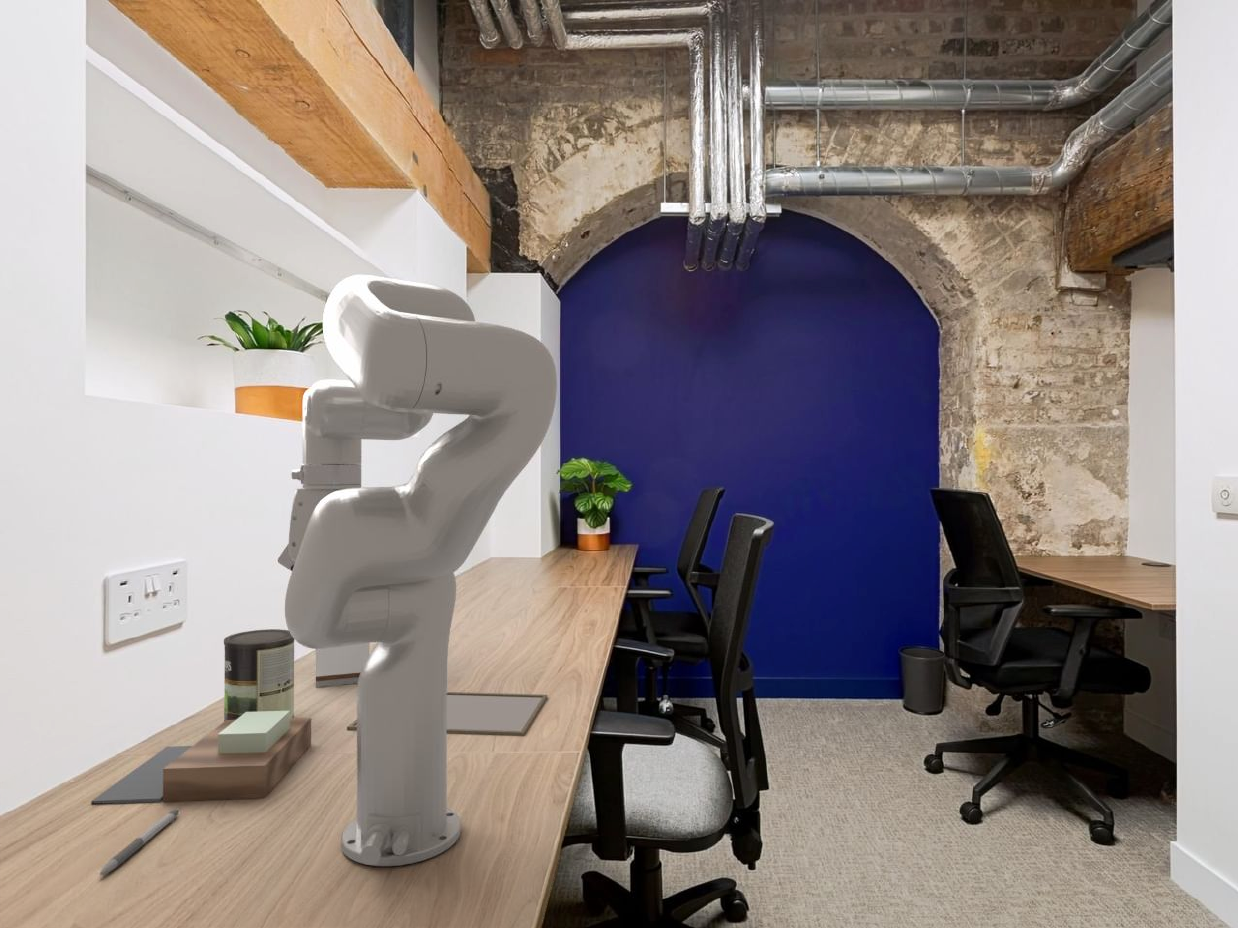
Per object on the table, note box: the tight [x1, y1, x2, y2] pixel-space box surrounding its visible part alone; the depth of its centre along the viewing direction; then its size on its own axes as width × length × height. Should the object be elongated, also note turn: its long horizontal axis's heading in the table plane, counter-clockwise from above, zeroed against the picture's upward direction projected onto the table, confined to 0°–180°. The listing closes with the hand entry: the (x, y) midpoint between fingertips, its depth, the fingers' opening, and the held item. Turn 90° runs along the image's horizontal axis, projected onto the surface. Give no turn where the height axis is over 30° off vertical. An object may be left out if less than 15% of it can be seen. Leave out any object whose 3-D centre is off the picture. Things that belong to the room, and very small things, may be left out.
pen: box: [99, 808, 180, 876], centre depth 82 cm, size 1×14×1 cm, turn 2°
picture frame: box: [346, 691, 548, 737], centre depth 126 cm, size 19×1×28 cm
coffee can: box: [223, 628, 295, 722], centre depth 120 cm, size 10×10×14 cm
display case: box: [315, 643, 370, 688], centre depth 148 cm, size 11×11×35 cm
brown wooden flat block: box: [162, 717, 312, 803], centre depth 102 cm, size 18×12×4 cm, turn 5°
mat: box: [90, 745, 193, 805], centre depth 101 cm, size 18×8×1 cm, turn 5°
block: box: [218, 711, 290, 754], centre depth 102 cm, size 9×6×2 cm, turn 5°
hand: (332, 610), depth 103 cm, fingers open, 4 cm apart
